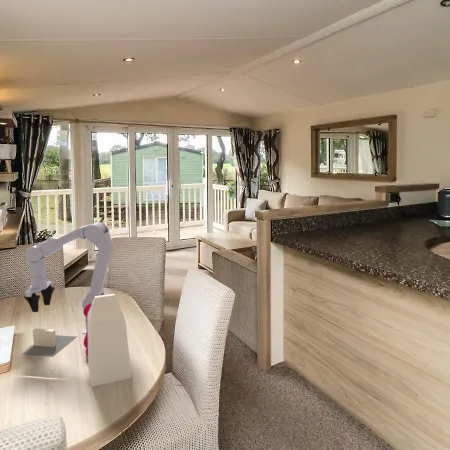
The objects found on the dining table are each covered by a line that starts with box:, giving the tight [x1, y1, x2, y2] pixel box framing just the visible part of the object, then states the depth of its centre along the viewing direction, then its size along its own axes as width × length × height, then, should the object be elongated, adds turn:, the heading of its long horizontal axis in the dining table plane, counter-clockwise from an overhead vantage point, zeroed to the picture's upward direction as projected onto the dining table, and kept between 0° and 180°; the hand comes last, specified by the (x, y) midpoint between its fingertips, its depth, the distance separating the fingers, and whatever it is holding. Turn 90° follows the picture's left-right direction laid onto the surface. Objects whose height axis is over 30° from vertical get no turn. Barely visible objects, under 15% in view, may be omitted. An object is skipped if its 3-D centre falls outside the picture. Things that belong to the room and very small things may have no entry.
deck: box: [32, 328, 56, 347], centre depth 142 cm, size 8×2×6 cm, turn 81°
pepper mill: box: [82, 299, 93, 357], centre depth 136 cm, size 7×7×20 cm
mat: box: [22, 334, 77, 357], centre depth 143 cm, size 12×16×1 cm
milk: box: [87, 293, 132, 388], centre depth 122 cm, size 12×12×26 cm
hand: (41, 308), depth 154 cm, fingers open, 7 cm apart
